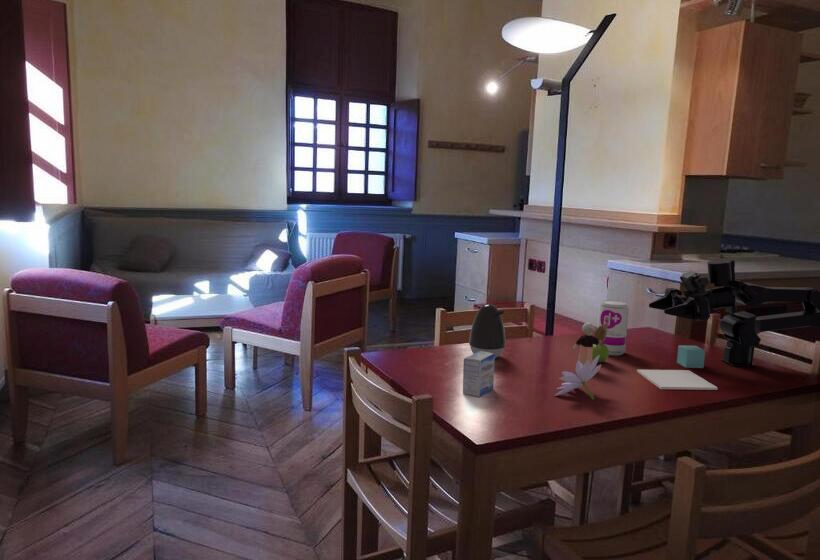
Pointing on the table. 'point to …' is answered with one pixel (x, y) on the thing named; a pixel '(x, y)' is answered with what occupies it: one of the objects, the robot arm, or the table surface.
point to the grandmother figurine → (586, 343)
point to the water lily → (579, 376)
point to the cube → (691, 356)
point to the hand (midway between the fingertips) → (656, 308)
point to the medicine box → (478, 373)
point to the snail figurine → (600, 335)
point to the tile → (676, 379)
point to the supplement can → (614, 325)
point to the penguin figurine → (488, 331)
